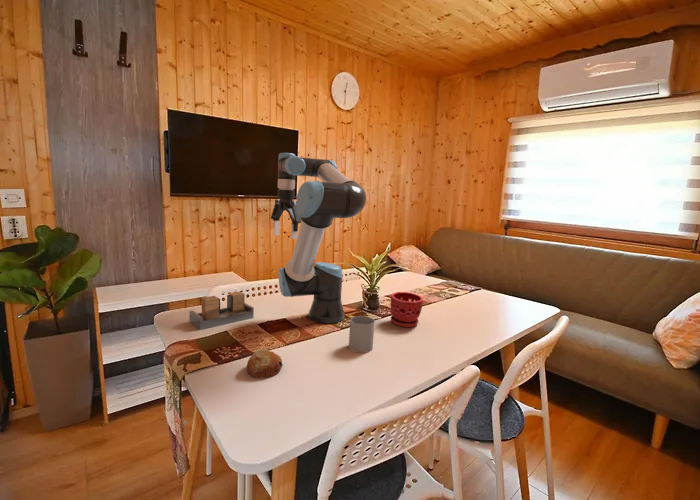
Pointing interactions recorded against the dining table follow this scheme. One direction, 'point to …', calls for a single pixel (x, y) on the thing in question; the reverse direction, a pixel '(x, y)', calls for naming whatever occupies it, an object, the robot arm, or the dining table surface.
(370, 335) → the cup
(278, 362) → the bread roll
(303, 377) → the dining table surface
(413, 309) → the plant pot
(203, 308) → the block
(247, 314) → the grey tray
